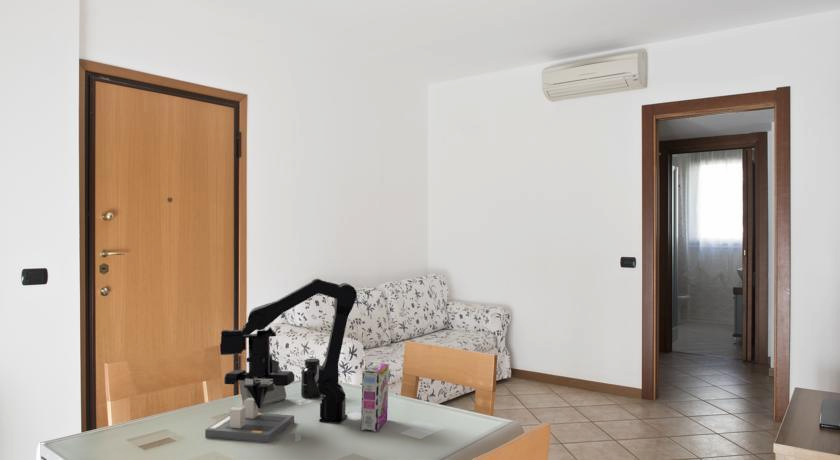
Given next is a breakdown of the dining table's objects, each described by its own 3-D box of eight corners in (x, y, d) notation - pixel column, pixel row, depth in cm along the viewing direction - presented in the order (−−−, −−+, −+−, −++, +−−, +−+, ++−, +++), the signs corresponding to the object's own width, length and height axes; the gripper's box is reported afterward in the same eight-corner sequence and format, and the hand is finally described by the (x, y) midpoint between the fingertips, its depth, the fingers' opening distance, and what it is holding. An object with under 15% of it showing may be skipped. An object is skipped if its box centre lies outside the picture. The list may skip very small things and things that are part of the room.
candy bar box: (378, 432, 154) (378, 372, 154) (360, 431, 155) (361, 371, 155) (388, 419, 165) (389, 363, 165) (372, 418, 166) (372, 362, 166)
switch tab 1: (245, 424, 153) (245, 406, 153) (240, 428, 150) (240, 410, 150) (235, 423, 153) (235, 406, 153) (229, 427, 151) (229, 409, 151)
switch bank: (294, 422, 161) (294, 415, 161) (269, 442, 146) (269, 434, 146) (235, 417, 165) (236, 410, 165) (205, 437, 149) (205, 429, 149)
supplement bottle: (297, 398, 185) (298, 361, 185) (305, 392, 192) (306, 357, 192) (317, 399, 184) (318, 362, 184) (324, 393, 191) (325, 358, 191)
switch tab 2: (257, 415, 161) (258, 398, 161) (253, 418, 158) (253, 401, 158) (248, 414, 161) (248, 397, 161) (243, 417, 158) (243, 400, 158)
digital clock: (243, 412, 170) (244, 376, 170) (231, 405, 177) (231, 371, 177) (292, 402, 181) (292, 368, 181) (278, 395, 188) (279, 363, 188)
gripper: (301, 347, 165) (302, 401, 165) (242, 346, 169) (243, 399, 169) (285, 355, 155) (286, 413, 154) (222, 354, 158) (223, 410, 158)
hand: (259, 408), depth 159 cm, fingers closed
